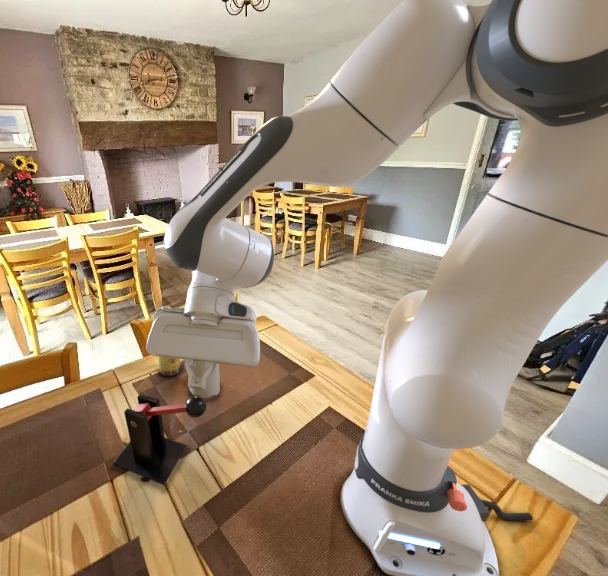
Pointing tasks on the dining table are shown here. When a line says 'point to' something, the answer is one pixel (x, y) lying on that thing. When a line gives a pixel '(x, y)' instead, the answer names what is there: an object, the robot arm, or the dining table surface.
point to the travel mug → (212, 382)
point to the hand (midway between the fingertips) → (196, 388)
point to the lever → (176, 408)
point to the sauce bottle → (168, 362)
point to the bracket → (149, 445)
